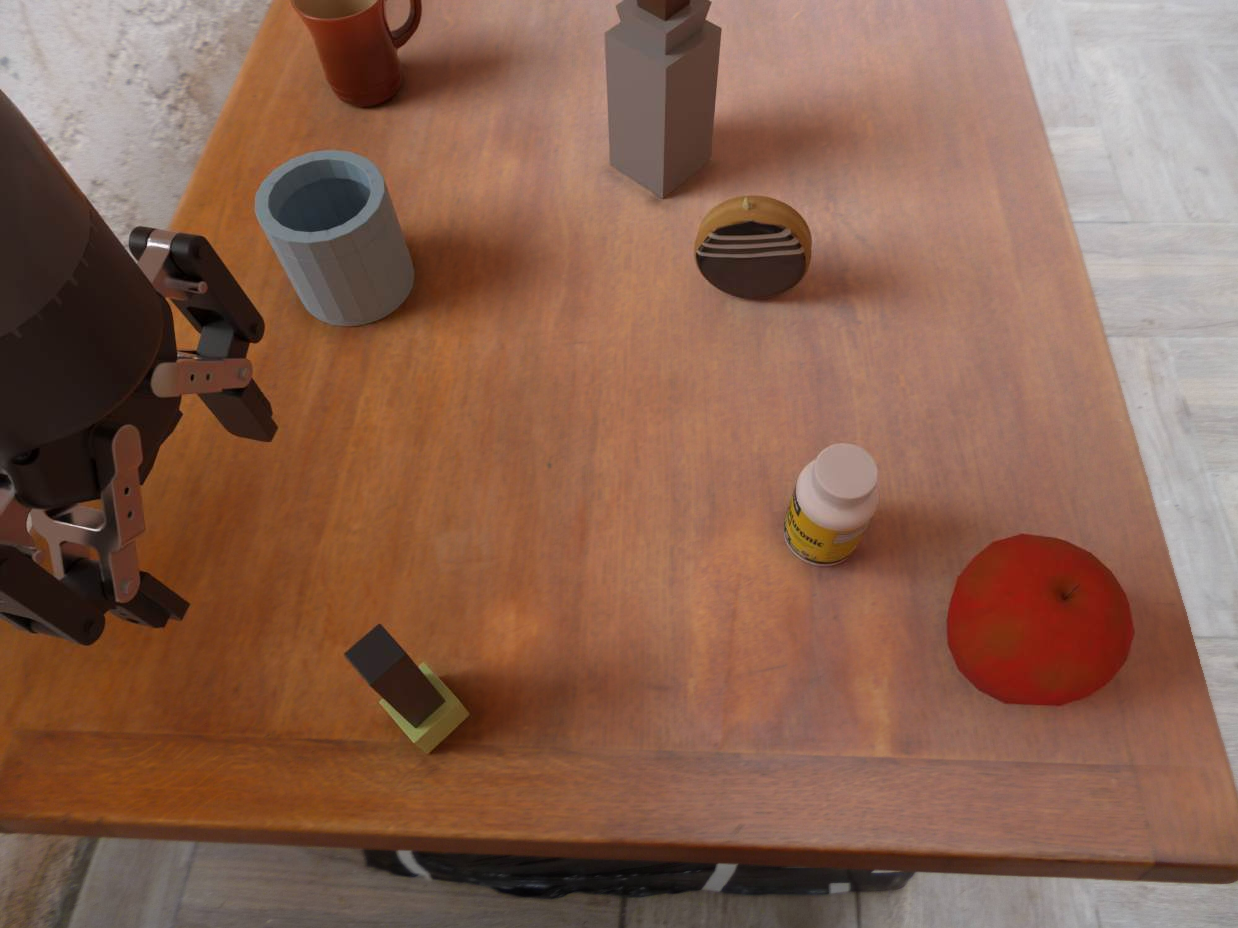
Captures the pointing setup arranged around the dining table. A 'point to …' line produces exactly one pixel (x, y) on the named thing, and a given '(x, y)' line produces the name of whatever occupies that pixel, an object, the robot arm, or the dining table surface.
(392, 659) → the brush
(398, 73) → the mug
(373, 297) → the gray tumbler
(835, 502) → the supplement bottle
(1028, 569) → the apple
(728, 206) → the doughnut
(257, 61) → the dining table surface
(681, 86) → the perfume bottle
